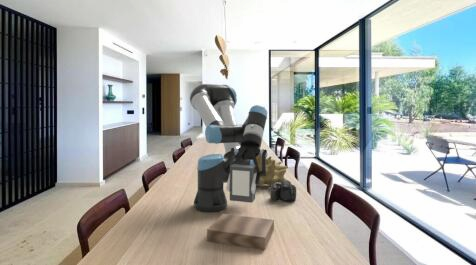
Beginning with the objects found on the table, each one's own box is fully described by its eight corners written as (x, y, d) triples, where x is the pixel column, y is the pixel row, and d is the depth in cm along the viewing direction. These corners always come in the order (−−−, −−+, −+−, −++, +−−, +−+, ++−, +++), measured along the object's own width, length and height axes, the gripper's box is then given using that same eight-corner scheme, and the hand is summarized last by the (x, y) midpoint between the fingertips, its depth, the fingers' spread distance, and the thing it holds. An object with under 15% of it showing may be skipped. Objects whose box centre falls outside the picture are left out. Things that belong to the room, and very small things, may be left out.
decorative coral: (232, 161, 185) (265, 136, 182) (253, 186, 192) (285, 162, 189) (237, 181, 161) (275, 153, 158) (261, 208, 168) (298, 182, 165)
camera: (274, 204, 143) (275, 183, 142) (267, 197, 153) (268, 178, 152) (300, 202, 146) (301, 182, 145) (292, 196, 156) (293, 177, 155)
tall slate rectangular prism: (229, 200, 106) (229, 166, 105) (233, 196, 110) (233, 163, 109) (251, 203, 103) (252, 168, 102) (255, 198, 108) (255, 165, 107)
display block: (207, 240, 104) (207, 229, 103) (222, 223, 119) (222, 213, 118) (264, 249, 98) (265, 237, 97) (273, 230, 113) (274, 219, 113)
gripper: (224, 131, 118) (208, 182, 104) (278, 133, 112) (269, 187, 98) (228, 143, 123) (214, 193, 109) (280, 146, 117) (271, 199, 103)
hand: (240, 190), depth 104 cm, fingers closed on tall slate rectangular prism, 8 cm apart
